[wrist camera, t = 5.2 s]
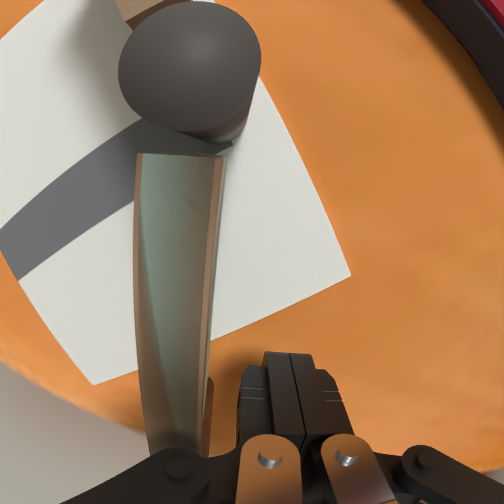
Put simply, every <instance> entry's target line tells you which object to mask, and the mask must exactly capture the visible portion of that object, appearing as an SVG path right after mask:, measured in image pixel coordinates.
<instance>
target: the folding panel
mask: <svg viewBox="0 0 504 504" xmlns="http://www.w3.org/2000/svg"><path fill="white" fill-rule="evenodd" d="M227 163H228V156H222V155H211V154H200V153H137V165H136V178H135V194H134V215H133V302H134V323H135V339H136V352H137V363H138V374H139V383H140V392H141V400H142V407H143V414H144V421H145V428H146V434H147V440H148V445H149V451H150V456H152V455H153V454H155V453H156V452H158V451H160V450H163V449H167V448H175V447H176V448H185V449H188V450H191V451H194V452H196V453H197V454H199V455H200V456H201V457H203V458H208V456H209V442H210V428H211V415H212V403H213V391H214V384H213V381H212V380H211V378H210V377H209V376H208V368H209V353H210V339H211V326H212V313H213V301H214V289H215V278H216V267H217V256H218V246H219V236H220V226H221V216H222V207H223V198H224V189H225V180H226V171H227Z"/></svg>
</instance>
